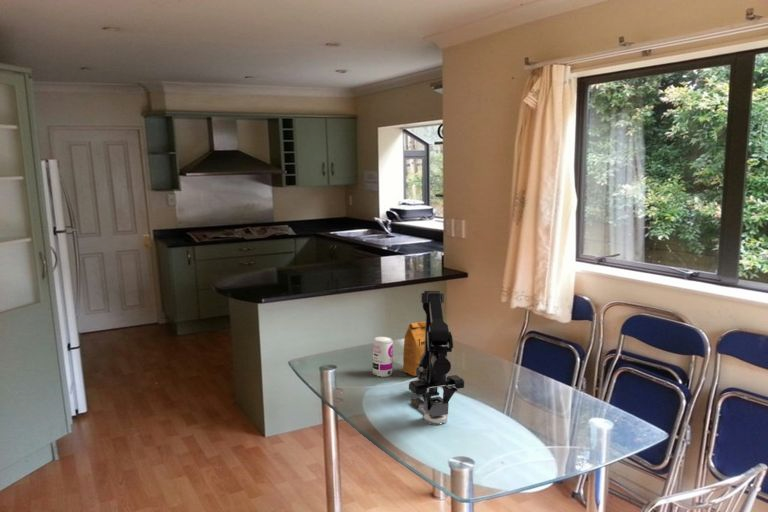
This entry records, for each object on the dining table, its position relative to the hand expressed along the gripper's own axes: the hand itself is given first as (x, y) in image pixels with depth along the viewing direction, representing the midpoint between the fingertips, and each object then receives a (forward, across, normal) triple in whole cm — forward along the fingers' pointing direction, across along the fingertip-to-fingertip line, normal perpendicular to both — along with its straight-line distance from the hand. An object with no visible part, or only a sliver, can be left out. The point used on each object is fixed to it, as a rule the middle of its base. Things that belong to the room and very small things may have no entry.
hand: (436, 408), depth 201 cm
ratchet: (+4, 0, -6) cm, 7 cm away
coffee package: (+4, -16, -43) cm, 46 cm away
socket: (+1, 0, 0) cm, 1 cm away
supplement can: (+4, -1, -47) cm, 47 cm away
